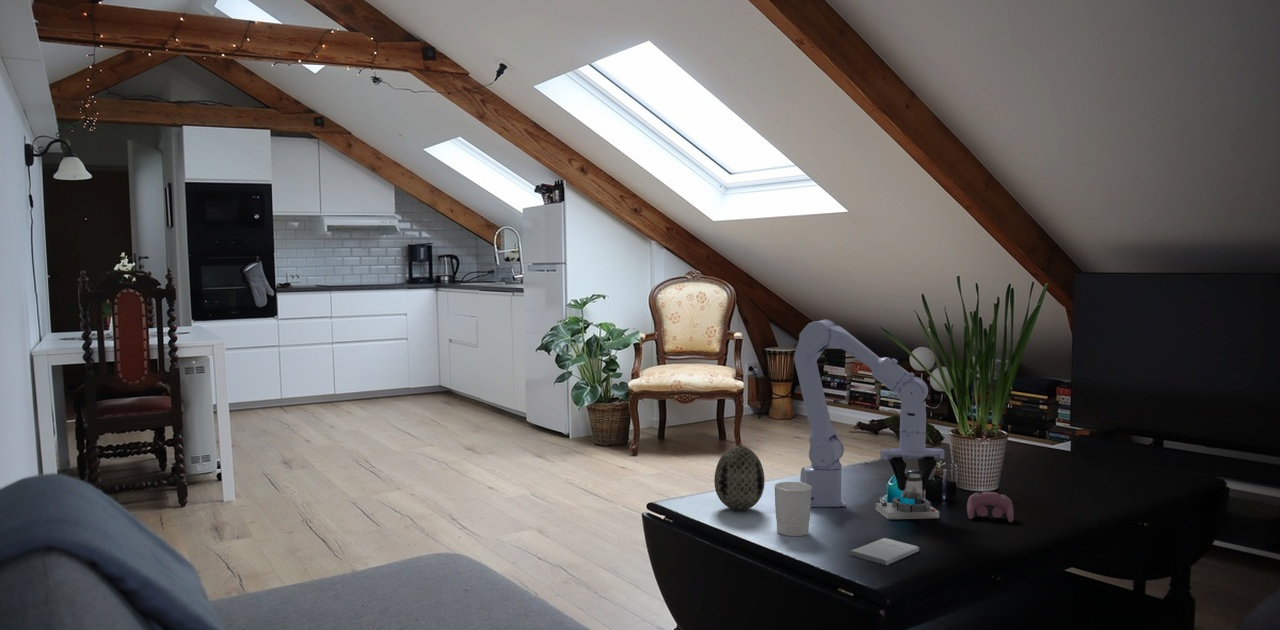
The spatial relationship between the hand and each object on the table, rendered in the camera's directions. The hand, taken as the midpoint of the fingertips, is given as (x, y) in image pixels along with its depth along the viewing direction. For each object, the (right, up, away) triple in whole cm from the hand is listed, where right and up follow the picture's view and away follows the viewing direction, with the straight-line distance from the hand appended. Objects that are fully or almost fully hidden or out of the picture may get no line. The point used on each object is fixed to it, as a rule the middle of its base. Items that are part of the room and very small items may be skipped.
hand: (911, 489), depth 206 cm
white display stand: (-1, -6, 0) cm, 6 cm away
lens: (0, -2, 0) cm, 2 cm away
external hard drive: (-14, -8, -27) cm, 32 cm away
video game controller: (+17, -6, -3) cm, 18 cm away
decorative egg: (-39, -6, +3) cm, 40 cm away
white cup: (-30, -7, -14) cm, 34 cm away
